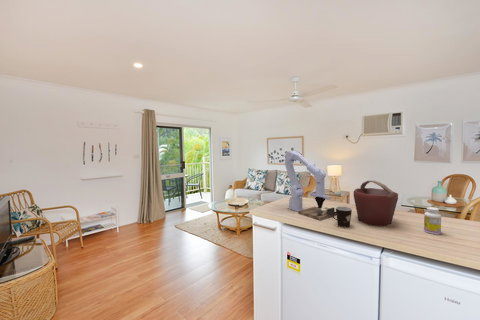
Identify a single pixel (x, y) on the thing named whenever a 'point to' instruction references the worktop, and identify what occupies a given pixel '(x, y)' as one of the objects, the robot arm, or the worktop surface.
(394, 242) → the worktop surface
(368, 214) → the bucket
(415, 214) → the worktop surface
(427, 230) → the supplement bottle
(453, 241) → the worktop surface
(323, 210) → the folding leg
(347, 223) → the coffee mug
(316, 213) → the stool seat
